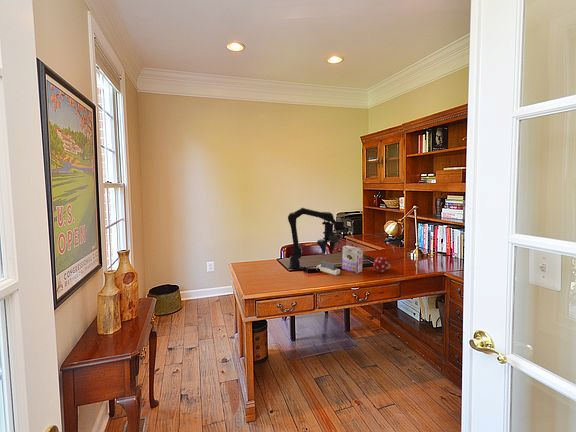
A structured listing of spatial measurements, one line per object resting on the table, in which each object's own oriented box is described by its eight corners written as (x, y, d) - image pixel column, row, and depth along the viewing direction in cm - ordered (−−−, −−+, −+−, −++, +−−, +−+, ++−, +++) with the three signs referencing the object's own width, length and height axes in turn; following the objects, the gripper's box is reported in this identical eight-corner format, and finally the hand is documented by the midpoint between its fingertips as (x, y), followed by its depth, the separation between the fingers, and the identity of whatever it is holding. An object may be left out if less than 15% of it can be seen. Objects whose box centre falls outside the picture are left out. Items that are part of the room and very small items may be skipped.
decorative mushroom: (389, 255, 230) (378, 252, 220) (399, 267, 222) (387, 264, 213) (379, 266, 234) (367, 263, 224) (387, 278, 227) (376, 275, 217)
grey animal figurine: (320, 269, 224) (320, 261, 223) (322, 268, 226) (323, 260, 225) (333, 273, 217) (334, 265, 216) (336, 272, 219) (336, 264, 218)
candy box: (362, 271, 222) (363, 248, 219) (357, 273, 218) (358, 250, 215) (346, 267, 232) (347, 244, 229) (341, 268, 228) (342, 246, 225)
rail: (316, 270, 225) (316, 266, 224) (321, 268, 228) (321, 264, 228) (335, 275, 214) (336, 271, 214) (340, 273, 218) (340, 269, 217)
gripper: (330, 234, 211) (329, 257, 213) (346, 230, 224) (345, 252, 227) (316, 232, 218) (316, 254, 221) (332, 228, 231) (332, 249, 234)
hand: (328, 252), depth 225 cm, fingers open, 9 cm apart
